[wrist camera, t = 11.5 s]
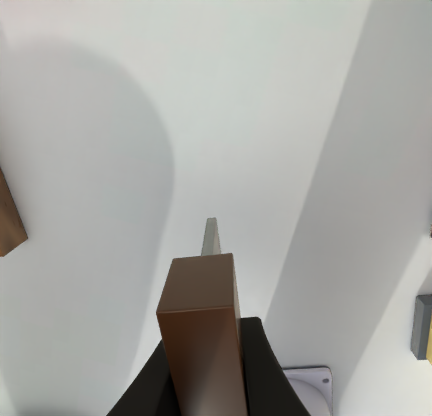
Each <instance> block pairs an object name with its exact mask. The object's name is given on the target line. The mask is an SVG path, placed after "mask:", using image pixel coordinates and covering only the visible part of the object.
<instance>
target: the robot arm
mask: <svg viewBox="0 0 432 416" xmlns="http://www.w3.org/2000/svg"><path fill="white" fill-rule="evenodd" d="M241 323H242V350H243V360H244V368H245V376H246V384H247V391H248V399H249V407H250V416H332V374H331V371H330V369H328V368H309V369H292V370H282V368H281V366H280V365H279V363H278V361H277V359H276V357H275V355H274V353H273V351H272V349H271V347H270V344H269V342H268V340H267V337H266V335H265V332H264V329H263V326H262V322H261V319H260V318H258V317H249V318H241ZM325 378H326V379H325ZM106 416H181V414H180V409H179V405H178V401H177V397H176V393H175V389H174V385H173V381H172V377H171V373H170V368H169V364H168V360H167V356H166V352H165V348H164V344H163V340H161V341H160V343H159V344H158V346H157V347H156V349H155V351H154V352H153V354H152V355H151V357H150V358H149V360H148V361H147V363H146V364H145V365H144V367H143V368H142V370H141V371H140V373H139V374H138V376H137V377H136V378H135V380H134V381H133V382H132V384H131V385H130V386H129V388H128V389H127V390H126V392H125V393H124V394H123V396H122V397H121V398H120V399H119V401H118V402H117V403H116V404H115V406H114V407H113V408H112V409H111V411H110V412H109V413H108V414H107V415H106Z"/></svg>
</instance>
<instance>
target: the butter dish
mask: <svg viewBox="0 0 432 416" xmlns="http://www.w3.org/2000/svg"><path fill="white" fill-rule="evenodd" d="M411 351H412V352H413V354H414V355H415V357H416V358H417V360H427V359H428V361H429V362H430V363H431V365H432V295H423V296H417V298H416V307H415V316H414V325H413V334H412V343H411Z"/></svg>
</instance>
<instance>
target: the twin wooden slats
mask: <svg viewBox="0 0 432 416" xmlns="http://www.w3.org/2000/svg"><path fill="white" fill-rule="evenodd" d="M27 239H28V238H27V235H26V233H25V230H24V227H23V225H22V222H21V220H20V217H19V215H18V212H17V210H16V207H15V205H14V202H13V199H12V197H11V194H10V192H9V189H8V187H7V184H6V182H5V179H4V177H3V174H2V171H1V169H0V257H3V256H5V255H6V254H8V253H9V252H10V251H12V250H13V249H14V248H16V247H17V246H19V245H20V244H21V243H23V242H24V241H25V240H27Z"/></svg>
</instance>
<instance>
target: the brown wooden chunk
mask: <svg viewBox="0 0 432 416" xmlns="http://www.w3.org/2000/svg"><path fill="white" fill-rule="evenodd" d="M156 315H157V319H158V323H159V327H160V332H161V336H162V340H163V344H164V348H165V352H166V356H167V360H168V364H169V368H170V373H171V377H172V381H173V385H174V389H175V393H176V397H177V401H178V405H179V409H180V414H181V416H250V407H249V399H248V391H247V384H246V376H245V368H244V360H243V350H242V323H241V315H240V307H239V299H238V291H237V283H236V275H235V267H234V259H233V254H232V253H227V254H221V248H220V241H219V234H218V227H217V220H216V218H208V219H207V222H206V228H205V235H204V241H203V247H202V253H201V256H195V257H185V258H174V259H173V261H172V264H171V267H170V270H169V273H168V276H167V279H166V282H165V286H164V289H163V292H162V295H161V298H160V301H159V304H158V307H157V311H156Z"/></svg>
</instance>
